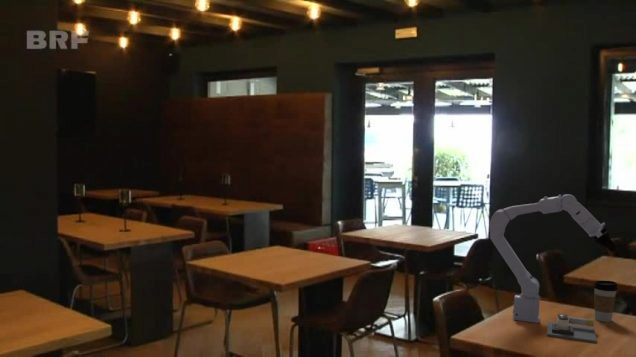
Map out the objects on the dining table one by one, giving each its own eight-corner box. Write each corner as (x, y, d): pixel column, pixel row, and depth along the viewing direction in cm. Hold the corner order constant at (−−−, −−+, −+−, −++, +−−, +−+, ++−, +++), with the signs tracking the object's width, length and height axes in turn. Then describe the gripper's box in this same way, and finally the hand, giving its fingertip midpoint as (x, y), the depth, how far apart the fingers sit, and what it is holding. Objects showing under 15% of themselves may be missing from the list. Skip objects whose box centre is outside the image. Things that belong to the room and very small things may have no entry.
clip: (557, 322, 226) (558, 315, 226) (557, 319, 229) (558, 313, 228) (593, 327, 221) (594, 320, 221) (593, 324, 224) (593, 318, 224)
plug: (555, 331, 219) (556, 318, 218) (555, 328, 223) (556, 314, 223) (569, 334, 217) (570, 319, 217) (569, 330, 222) (570, 316, 221)
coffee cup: (617, 323, 234) (620, 285, 233) (594, 321, 236) (596, 283, 235) (611, 317, 242) (614, 280, 241) (588, 315, 244) (591, 278, 243)
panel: (547, 336, 216) (547, 330, 216) (547, 323, 231) (548, 318, 231) (596, 343, 211) (596, 337, 211) (594, 329, 226) (594, 324, 225)
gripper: (596, 215, 218) (625, 244, 216) (593, 211, 232) (620, 238, 229) (580, 228, 220) (608, 257, 218) (579, 223, 234) (605, 250, 231)
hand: (613, 248), depth 223 cm, fingers open, 7 cm apart
